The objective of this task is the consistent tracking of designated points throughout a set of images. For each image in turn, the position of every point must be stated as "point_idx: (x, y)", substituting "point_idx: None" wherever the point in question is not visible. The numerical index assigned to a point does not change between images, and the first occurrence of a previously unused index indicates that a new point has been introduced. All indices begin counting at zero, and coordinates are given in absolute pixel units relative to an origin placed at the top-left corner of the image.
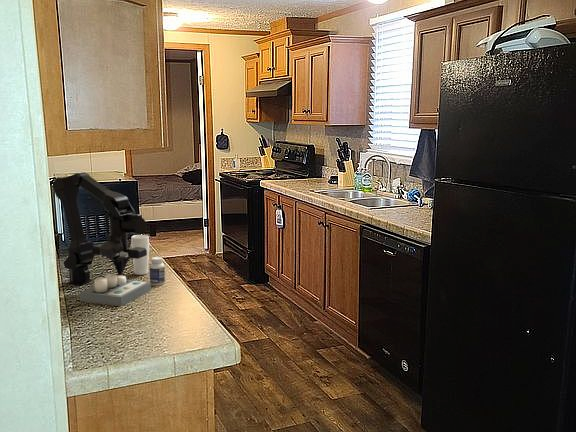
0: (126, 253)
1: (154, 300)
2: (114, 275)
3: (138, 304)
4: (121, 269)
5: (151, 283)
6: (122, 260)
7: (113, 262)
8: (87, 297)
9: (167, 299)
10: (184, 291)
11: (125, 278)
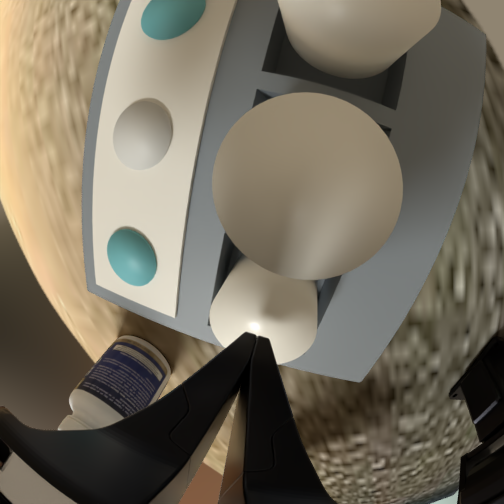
0: (2, 493)
1: (54, 118)
2: (242, 186)
3: (95, 42)
4: (204, 367)
5: (149, 349)
6: (70, 433)
7: (303, 469)
8: None
9: (28, 148)
10: (28, 253)
11: (211, 310)
